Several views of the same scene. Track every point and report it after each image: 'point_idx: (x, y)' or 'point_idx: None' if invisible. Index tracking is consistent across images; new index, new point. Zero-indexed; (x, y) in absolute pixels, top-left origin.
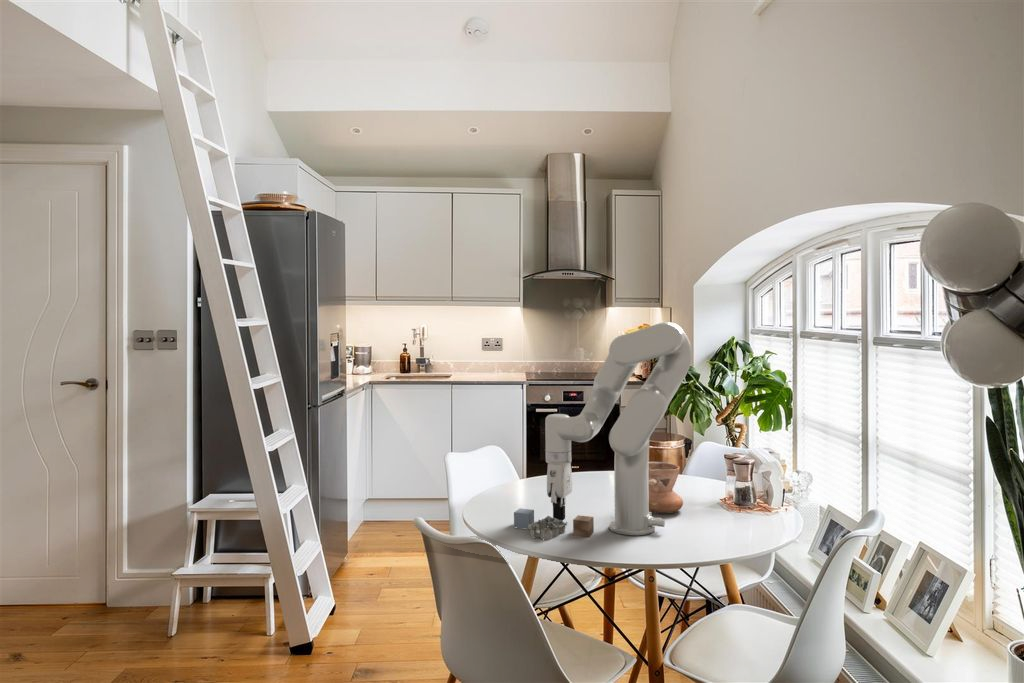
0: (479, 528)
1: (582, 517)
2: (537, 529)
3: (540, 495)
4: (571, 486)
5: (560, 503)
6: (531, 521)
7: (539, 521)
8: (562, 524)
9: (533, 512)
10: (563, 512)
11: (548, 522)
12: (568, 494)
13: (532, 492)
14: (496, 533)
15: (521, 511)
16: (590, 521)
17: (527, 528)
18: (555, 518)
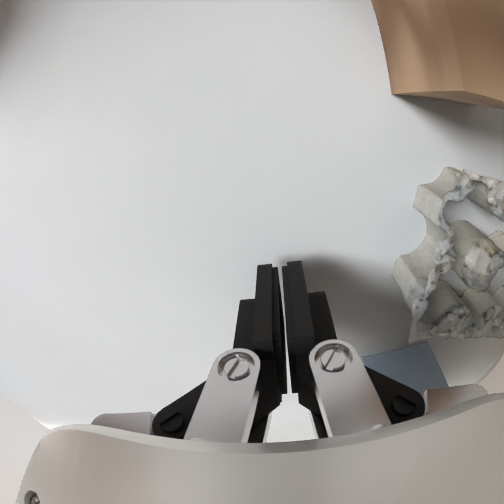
0: None
1: (492, 40)
2: (491, 296)
3: (58, 403)
4: (58, 497)
5: (365, 379)
6: (404, 369)
7: (462, 332)
8: (435, 212)
9: None
10: (306, 296)
11: (489, 284)
12: (240, 451)
13: (62, 415)
14: (464, 378)
15: None
16: None
17: (427, 348)
18: (427, 287)
